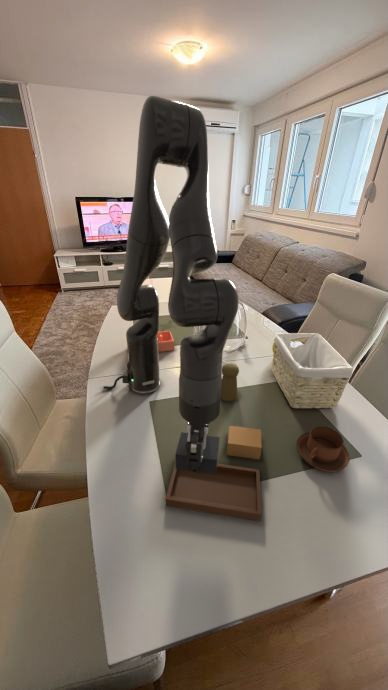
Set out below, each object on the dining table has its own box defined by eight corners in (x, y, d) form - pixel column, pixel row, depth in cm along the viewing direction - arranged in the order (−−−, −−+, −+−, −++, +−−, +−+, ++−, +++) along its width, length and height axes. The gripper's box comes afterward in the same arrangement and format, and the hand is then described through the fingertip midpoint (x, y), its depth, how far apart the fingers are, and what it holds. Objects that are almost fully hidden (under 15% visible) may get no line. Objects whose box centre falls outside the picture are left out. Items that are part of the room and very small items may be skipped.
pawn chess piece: (236, 402, 91) (240, 372, 86) (217, 399, 92) (219, 369, 87) (238, 390, 96) (241, 361, 91) (219, 388, 97) (221, 359, 92)
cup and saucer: (343, 485, 66) (350, 465, 63) (289, 461, 72) (294, 442, 69) (350, 449, 75) (357, 431, 72) (302, 430, 81) (306, 413, 78)
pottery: (170, 339, 127) (169, 318, 122) (174, 350, 119) (174, 327, 114) (127, 343, 123) (125, 321, 118) (128, 354, 115) (126, 331, 110)
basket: (267, 368, 108) (273, 331, 101) (311, 368, 109) (320, 331, 102) (289, 412, 87) (298, 370, 80) (342, 411, 88) (356, 369, 81)
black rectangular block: (175, 468, 59) (175, 454, 57) (181, 445, 64) (181, 432, 62) (215, 474, 58) (216, 460, 56) (218, 450, 63) (219, 436, 61)
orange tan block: (226, 455, 73) (227, 443, 71) (227, 437, 78) (229, 425, 76) (259, 459, 72) (261, 447, 70) (258, 441, 77) (260, 429, 75)
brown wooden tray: (165, 505, 61) (165, 499, 60) (176, 463, 70) (176, 457, 69) (260, 521, 59) (261, 514, 58) (258, 475, 68) (259, 469, 67)
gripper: (186, 367, 60) (186, 430, 67) (170, 415, 47) (172, 485, 55) (224, 371, 59) (219, 434, 66) (217, 420, 46) (212, 491, 54)
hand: (197, 457), depth 61 cm, fingers closed on black rectangular block, 6 cm apart
